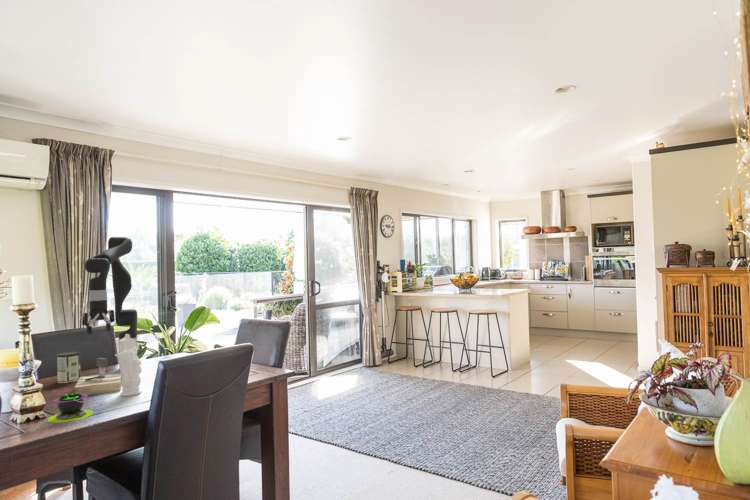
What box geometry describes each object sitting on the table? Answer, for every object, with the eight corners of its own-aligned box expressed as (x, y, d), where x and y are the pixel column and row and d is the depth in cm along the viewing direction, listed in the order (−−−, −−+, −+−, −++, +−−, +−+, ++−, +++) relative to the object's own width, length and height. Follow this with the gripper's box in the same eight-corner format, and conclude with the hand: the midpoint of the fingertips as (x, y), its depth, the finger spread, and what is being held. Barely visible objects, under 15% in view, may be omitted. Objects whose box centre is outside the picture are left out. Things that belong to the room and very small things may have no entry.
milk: (124, 378, 249) (123, 335, 249) (119, 376, 253) (118, 334, 253) (136, 375, 253) (135, 333, 253) (132, 374, 257) (131, 332, 258)
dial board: (79, 385, 236) (79, 376, 236) (121, 380, 244) (121, 371, 244) (74, 396, 215) (74, 387, 215) (120, 390, 223) (120, 381, 223)
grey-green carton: (67, 378, 252) (66, 351, 253) (85, 378, 251) (85, 351, 252) (52, 383, 242) (51, 355, 243) (71, 383, 241) (70, 354, 242)
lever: (101, 376, 235) (100, 357, 236) (108, 377, 232) (108, 358, 233) (81, 380, 227) (81, 361, 228) (89, 381, 224) (88, 362, 225)
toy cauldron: (99, 415, 186) (98, 386, 187) (54, 425, 175) (53, 395, 176) (85, 408, 196) (85, 381, 197) (42, 417, 185) (41, 389, 186)
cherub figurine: (130, 397, 210) (129, 347, 210) (106, 397, 213) (104, 347, 213) (149, 390, 222) (147, 342, 222) (125, 389, 225) (124, 342, 225)
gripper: (108, 298, 242) (109, 330, 242) (78, 300, 230) (79, 334, 230) (117, 298, 238) (117, 331, 238) (87, 300, 226) (87, 335, 226)
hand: (99, 332), depth 234 cm, fingers open, 8 cm apart
